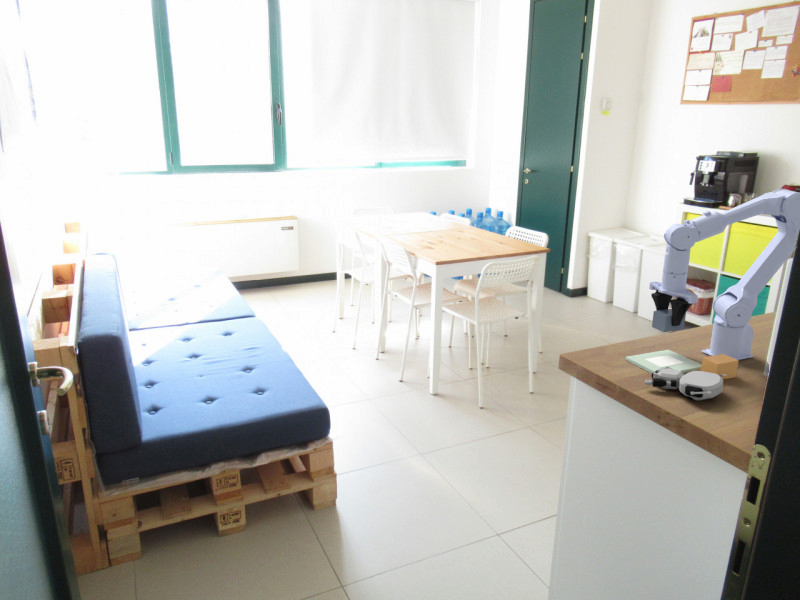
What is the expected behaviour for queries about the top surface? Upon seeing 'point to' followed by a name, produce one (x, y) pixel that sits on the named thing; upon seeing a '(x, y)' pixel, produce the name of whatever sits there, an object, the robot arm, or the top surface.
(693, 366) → the baseplate
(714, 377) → the robot toy
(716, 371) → the orange brick
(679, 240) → the robot arm
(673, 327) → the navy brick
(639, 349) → the top surface
